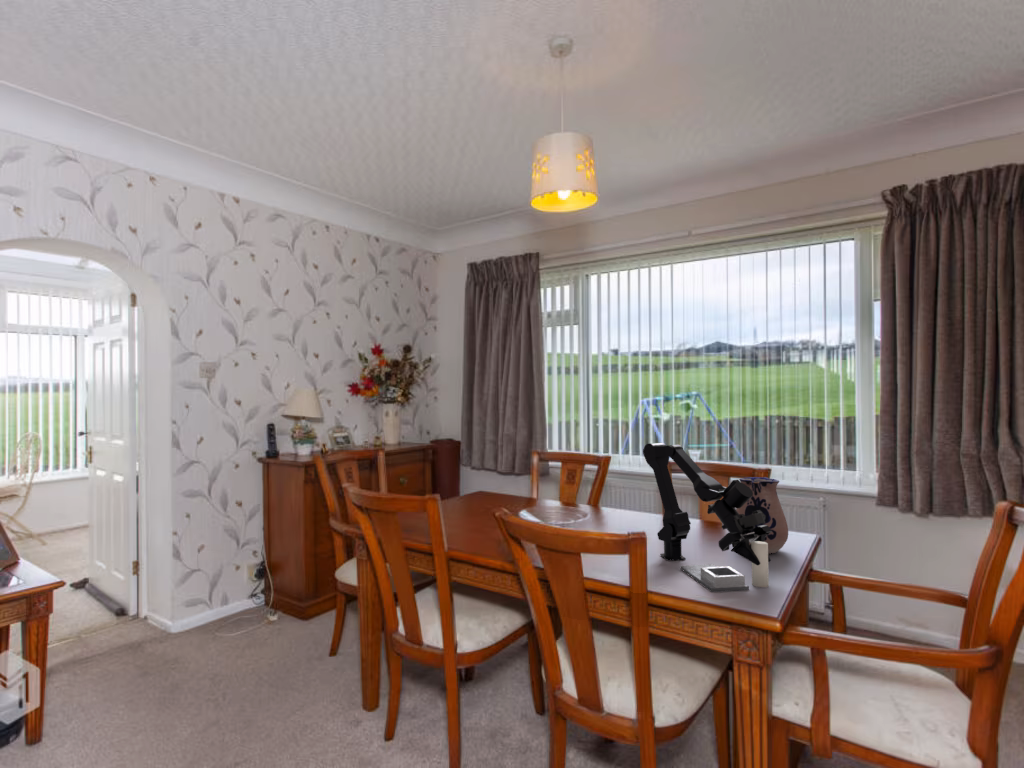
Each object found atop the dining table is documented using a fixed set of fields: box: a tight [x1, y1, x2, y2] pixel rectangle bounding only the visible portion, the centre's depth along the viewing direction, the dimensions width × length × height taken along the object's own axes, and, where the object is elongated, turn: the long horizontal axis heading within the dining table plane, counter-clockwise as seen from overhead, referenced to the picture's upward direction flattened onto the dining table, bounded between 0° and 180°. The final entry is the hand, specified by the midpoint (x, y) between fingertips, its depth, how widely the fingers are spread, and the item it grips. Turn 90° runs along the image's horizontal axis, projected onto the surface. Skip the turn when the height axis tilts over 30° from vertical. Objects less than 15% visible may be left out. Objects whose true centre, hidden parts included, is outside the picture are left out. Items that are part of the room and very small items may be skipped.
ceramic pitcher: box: [735, 476, 789, 555], centre depth 195 cm, size 18×21×25 cm
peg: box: [751, 541, 770, 588], centre depth 159 cm, size 4×4×12 cm
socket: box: [680, 563, 750, 593], centre depth 164 cm, size 20×11×4 cm, turn 7°
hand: (764, 563), depth 157 cm, fingers open, 5 cm apart
